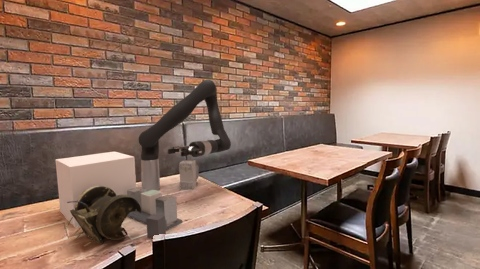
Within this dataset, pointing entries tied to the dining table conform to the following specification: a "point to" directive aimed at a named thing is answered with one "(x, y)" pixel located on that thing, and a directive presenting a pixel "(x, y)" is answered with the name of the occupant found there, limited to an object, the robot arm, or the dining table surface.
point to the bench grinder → (102, 213)
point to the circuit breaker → (188, 174)
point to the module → (150, 201)
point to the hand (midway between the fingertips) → (174, 152)
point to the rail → (163, 207)
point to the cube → (93, 177)
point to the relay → (155, 225)
